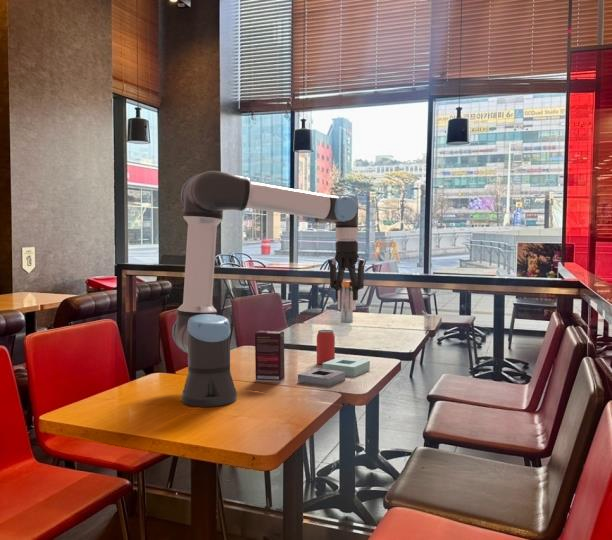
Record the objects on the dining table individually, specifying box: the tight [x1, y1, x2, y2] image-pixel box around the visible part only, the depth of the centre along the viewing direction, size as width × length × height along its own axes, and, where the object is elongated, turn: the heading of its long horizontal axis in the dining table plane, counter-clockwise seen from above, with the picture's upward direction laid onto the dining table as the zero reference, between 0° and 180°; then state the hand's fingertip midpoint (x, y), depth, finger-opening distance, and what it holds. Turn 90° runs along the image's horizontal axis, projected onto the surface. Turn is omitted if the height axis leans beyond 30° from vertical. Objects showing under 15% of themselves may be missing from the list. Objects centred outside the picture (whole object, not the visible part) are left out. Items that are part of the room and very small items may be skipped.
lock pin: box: [340, 280, 354, 324], centre depth 197 cm, size 4×4×14 cm
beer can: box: [316, 329, 336, 365], centre depth 213 cm, size 7×7×12 cm
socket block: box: [321, 356, 371, 378], centre depth 198 cm, size 12×12×4 cm
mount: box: [297, 367, 346, 388], centre depth 184 cm, size 11×11×3 cm
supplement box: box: [254, 330, 286, 384], centre depth 185 cm, size 9×5×16 cm, turn 76°
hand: (346, 309), depth 198 cm, fingers closed on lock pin, 4 cm apart
